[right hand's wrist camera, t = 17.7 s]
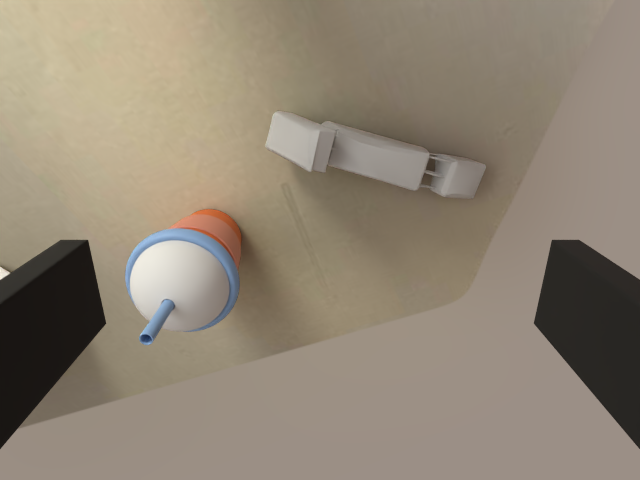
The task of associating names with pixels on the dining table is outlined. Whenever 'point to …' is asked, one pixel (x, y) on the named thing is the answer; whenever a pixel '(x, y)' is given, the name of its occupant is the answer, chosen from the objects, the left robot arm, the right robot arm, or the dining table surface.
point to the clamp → (370, 156)
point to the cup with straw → (186, 274)
